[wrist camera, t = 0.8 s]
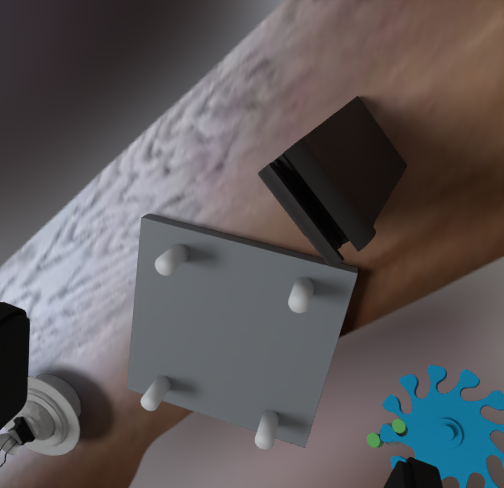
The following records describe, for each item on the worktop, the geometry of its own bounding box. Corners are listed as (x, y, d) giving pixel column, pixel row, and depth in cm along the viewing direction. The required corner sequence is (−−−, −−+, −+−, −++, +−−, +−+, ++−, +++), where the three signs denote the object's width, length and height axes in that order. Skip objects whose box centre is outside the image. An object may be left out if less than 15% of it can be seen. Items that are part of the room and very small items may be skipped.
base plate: (357, 267, 33) (357, 290, 29) (306, 438, 39) (300, 475, 35) (148, 213, 36) (122, 227, 32) (132, 381, 42) (110, 409, 38)
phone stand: (358, 95, 29) (358, 93, 18) (407, 165, 30) (436, 204, 19) (258, 172, 32) (207, 211, 21) (304, 234, 33) (278, 301, 22)
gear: (507, 358, 31) (546, 520, 26) (507, 371, 35) (540, 511, 31) (358, 368, 36) (370, 506, 31) (375, 378, 40) (388, 499, 36)
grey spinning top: (-116, 454, 35) (-56, 543, 37) (-33, 443, 32) (27, 542, 34) (0, 367, 46) (40, 440, 49) (70, 353, 43) (109, 431, 45)
